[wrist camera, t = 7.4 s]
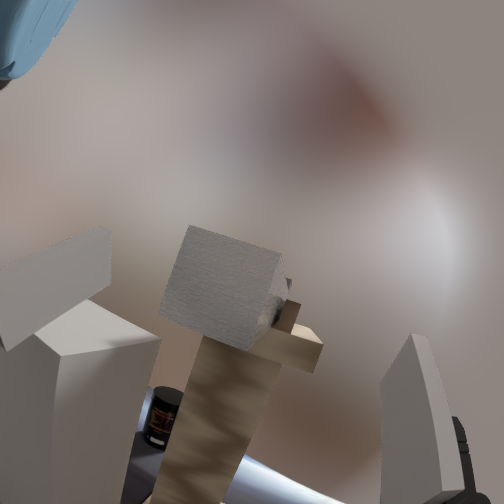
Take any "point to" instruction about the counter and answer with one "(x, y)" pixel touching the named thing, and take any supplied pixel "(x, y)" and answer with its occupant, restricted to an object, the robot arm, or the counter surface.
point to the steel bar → (225, 288)
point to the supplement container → (161, 416)
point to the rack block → (72, 408)
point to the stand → (227, 409)
